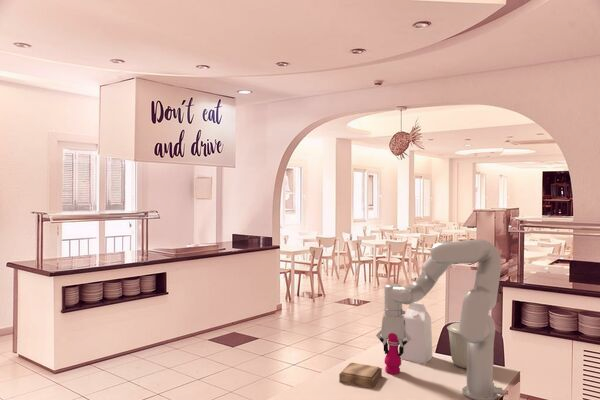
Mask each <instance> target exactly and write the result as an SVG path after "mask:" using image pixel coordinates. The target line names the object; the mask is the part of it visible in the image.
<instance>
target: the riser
mask: <svg viewBox="0 0 600 400" xmlns="http://www.w3.org/2000/svg"><path fill="white" fill-rule="evenodd" d="M382 371H383V368H382V367H380V366H375V365H370V364H363V363H356V362H349V364H348V365H346V367H345V368H344V369H343V370H341V372H340V373H339V379H338V380H339V383H343V384H348V385H352V386H358V387H363V388H368V387H369V388H370V389H374V387H375V386H376V384H377V383H378V382H379V381H380V379H381V378H382V377H383V372H382Z"/></svg>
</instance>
